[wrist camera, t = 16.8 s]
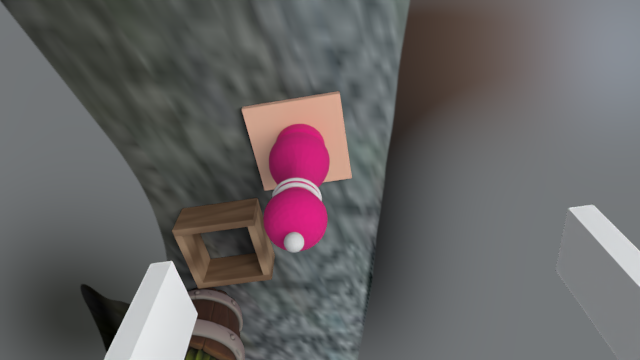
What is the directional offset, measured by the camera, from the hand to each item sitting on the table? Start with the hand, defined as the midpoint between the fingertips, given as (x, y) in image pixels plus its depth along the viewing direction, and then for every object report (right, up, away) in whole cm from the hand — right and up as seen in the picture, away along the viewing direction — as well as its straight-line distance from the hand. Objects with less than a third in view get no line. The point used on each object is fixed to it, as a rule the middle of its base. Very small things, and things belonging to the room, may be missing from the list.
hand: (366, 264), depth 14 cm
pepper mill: (-4, +7, +38) cm, 39 cm away
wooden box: (-15, -5, +46) cm, 49 cm away
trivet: (-4, +8, +38) cm, 39 cm away
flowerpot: (-20, -19, +55) cm, 61 cm away
